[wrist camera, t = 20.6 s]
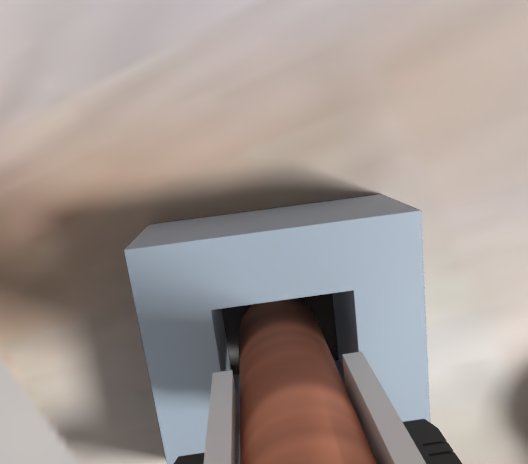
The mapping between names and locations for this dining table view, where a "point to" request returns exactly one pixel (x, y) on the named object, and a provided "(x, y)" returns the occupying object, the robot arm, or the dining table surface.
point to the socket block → (279, 297)
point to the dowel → (293, 392)
